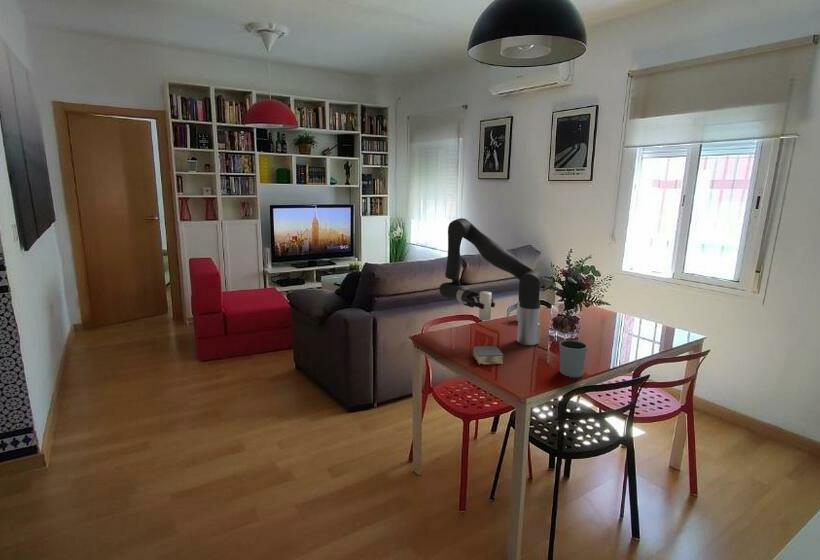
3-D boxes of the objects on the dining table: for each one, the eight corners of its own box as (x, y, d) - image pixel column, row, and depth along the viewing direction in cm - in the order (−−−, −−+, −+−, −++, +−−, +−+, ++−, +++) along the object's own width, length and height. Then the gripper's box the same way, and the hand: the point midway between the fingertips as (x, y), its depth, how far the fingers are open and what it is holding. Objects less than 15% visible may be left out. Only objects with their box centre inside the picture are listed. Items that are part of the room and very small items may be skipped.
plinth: (495, 354, 196) (496, 345, 195) (502, 363, 187) (503, 354, 186) (473, 355, 195) (473, 346, 194) (478, 364, 186) (479, 355, 185)
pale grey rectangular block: (488, 316, 205) (489, 291, 203) (491, 320, 200) (493, 294, 198) (477, 317, 205) (478, 291, 202) (480, 320, 200) (481, 294, 197)
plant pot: (588, 378, 173) (591, 349, 171) (561, 378, 173) (564, 348, 171) (579, 367, 183) (581, 339, 180) (554, 367, 183) (556, 339, 181)
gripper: (454, 290, 210) (475, 299, 195) (480, 287, 216) (502, 296, 201) (454, 306, 211) (474, 316, 197) (480, 302, 218) (501, 312, 203)
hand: (488, 305), depth 199 cm, fingers closed on pale grey rectangular block, 5 cm apart
